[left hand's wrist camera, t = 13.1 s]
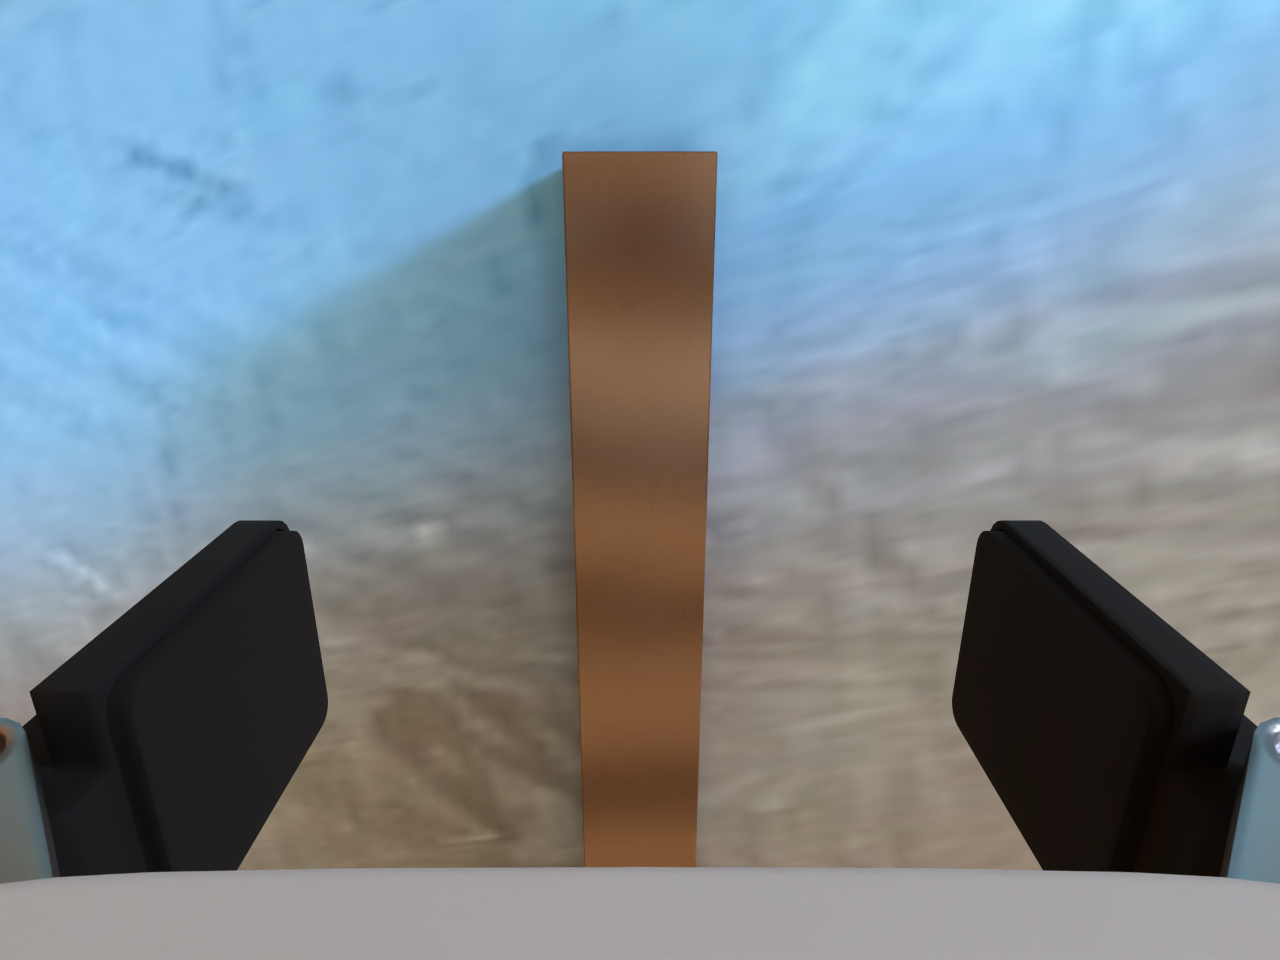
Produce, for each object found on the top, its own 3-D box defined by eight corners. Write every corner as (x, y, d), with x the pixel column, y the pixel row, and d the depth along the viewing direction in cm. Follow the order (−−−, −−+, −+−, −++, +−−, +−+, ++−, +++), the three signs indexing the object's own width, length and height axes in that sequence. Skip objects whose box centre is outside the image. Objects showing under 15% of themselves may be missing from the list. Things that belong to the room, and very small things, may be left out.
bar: (576, 158, 31) (562, 151, 25) (702, 158, 31) (717, 151, 25) (599, 1040, 49) (593, 1161, 43) (680, 1040, 49) (686, 1161, 43)
